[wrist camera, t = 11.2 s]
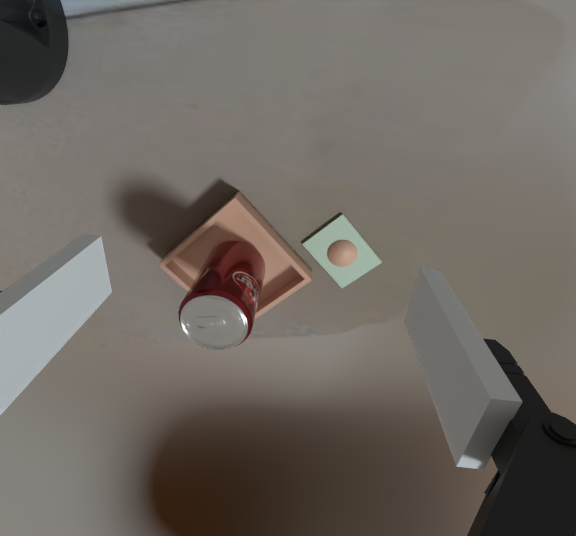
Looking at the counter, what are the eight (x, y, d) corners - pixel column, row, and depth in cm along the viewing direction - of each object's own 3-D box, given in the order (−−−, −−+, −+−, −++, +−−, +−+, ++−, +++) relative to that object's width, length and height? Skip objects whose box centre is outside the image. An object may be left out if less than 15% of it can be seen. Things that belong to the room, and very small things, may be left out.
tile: (302, 243, 43) (302, 244, 43) (342, 213, 41) (342, 214, 41) (341, 287, 46) (342, 288, 46) (381, 261, 44) (382, 262, 44)
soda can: (266, 239, 43) (250, 294, 32) (266, 290, 46) (252, 355, 36) (206, 236, 43) (171, 290, 33) (211, 287, 47) (181, 350, 36)
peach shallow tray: (165, 255, 45) (157, 264, 43) (239, 190, 41) (234, 197, 39) (237, 321, 50) (234, 333, 48) (312, 269, 45) (311, 279, 43)
